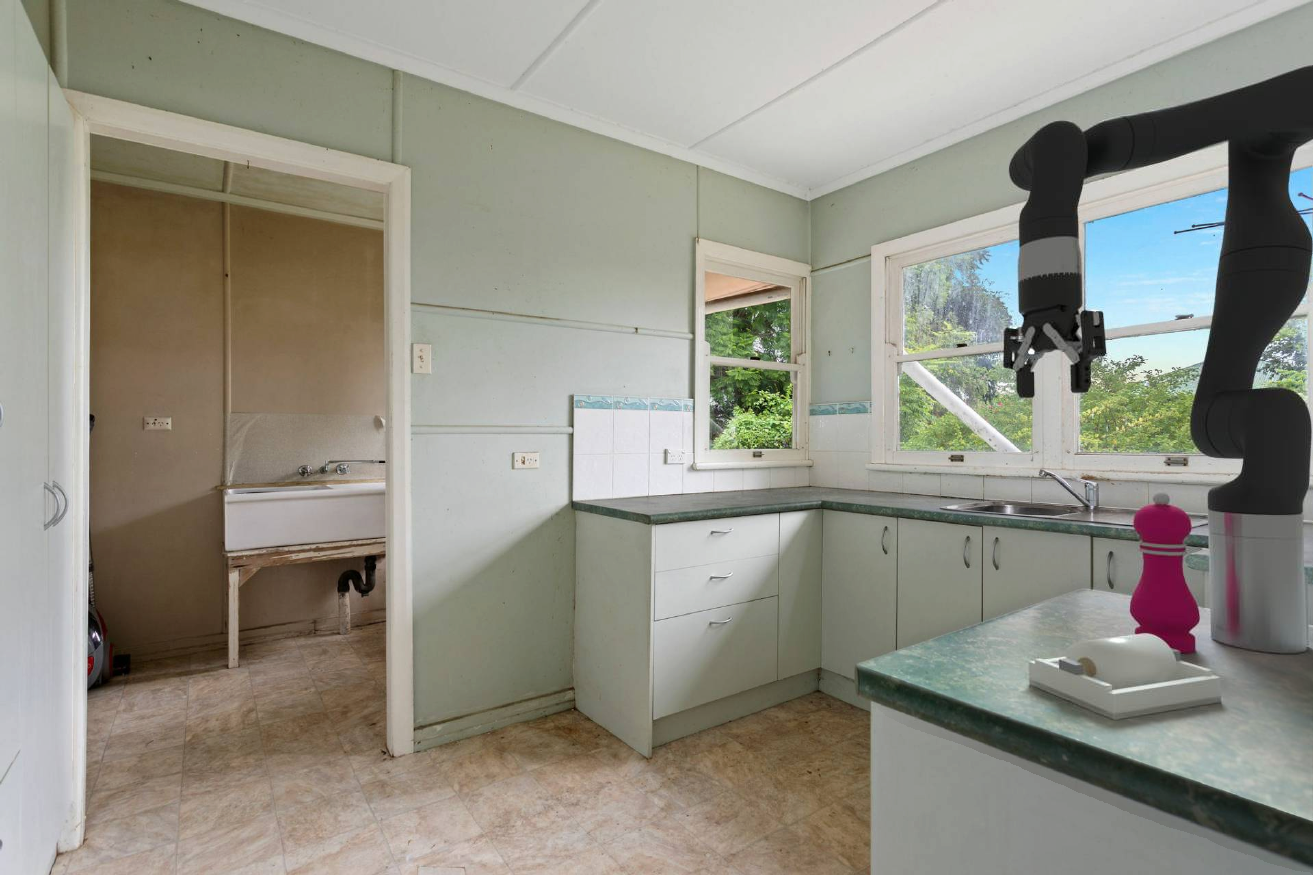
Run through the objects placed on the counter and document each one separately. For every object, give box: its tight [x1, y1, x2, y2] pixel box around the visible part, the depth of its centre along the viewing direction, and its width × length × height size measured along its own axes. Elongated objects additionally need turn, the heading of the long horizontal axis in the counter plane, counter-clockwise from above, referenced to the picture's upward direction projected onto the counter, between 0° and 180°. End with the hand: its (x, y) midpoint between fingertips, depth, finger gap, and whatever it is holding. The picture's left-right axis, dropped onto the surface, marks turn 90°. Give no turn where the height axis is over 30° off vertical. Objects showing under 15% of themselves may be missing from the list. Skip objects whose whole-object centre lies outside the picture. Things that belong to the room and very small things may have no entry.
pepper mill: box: [1129, 491, 1201, 654], centre depth 85 cm, size 7×7×20 cm
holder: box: [1028, 648, 1222, 721], centre depth 70 cm, size 14×10×4 cm
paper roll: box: [1065, 633, 1177, 690], centre depth 70 cm, size 10×5×5 cm, turn 106°
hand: (1051, 395), depth 90 cm, fingers open, 8 cm apart
